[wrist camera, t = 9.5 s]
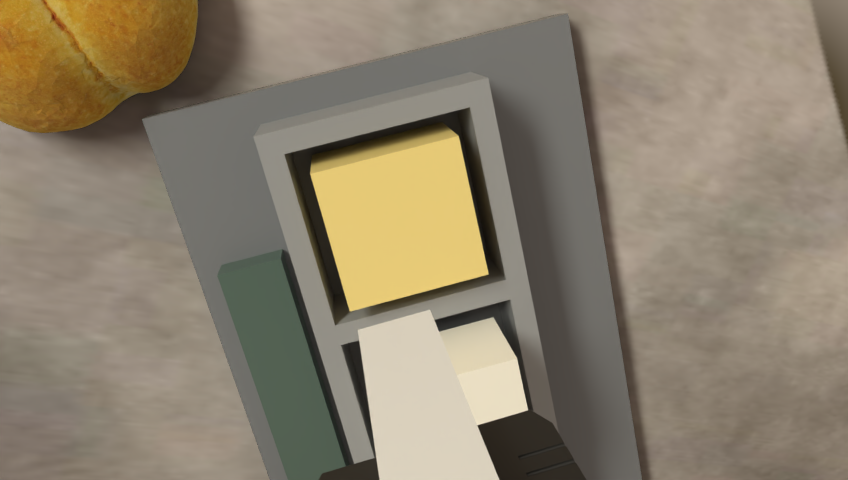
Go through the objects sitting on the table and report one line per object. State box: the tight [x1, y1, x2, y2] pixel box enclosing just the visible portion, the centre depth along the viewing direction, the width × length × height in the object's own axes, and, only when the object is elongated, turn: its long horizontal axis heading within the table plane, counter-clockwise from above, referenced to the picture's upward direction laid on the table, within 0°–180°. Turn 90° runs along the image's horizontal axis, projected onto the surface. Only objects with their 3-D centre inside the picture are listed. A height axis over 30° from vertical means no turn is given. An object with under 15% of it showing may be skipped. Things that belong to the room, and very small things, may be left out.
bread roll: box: [0, 0, 198, 133], centre depth 24 cm, size 8×9×4 cm
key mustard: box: [310, 122, 489, 311], centre depth 26 cm, size 5×5×4 cm
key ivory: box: [439, 317, 528, 425], centre depth 26 cm, size 5×5×4 cm
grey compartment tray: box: [142, 14, 642, 480], centre depth 30 cm, size 16×32×4 cm, turn 13°
